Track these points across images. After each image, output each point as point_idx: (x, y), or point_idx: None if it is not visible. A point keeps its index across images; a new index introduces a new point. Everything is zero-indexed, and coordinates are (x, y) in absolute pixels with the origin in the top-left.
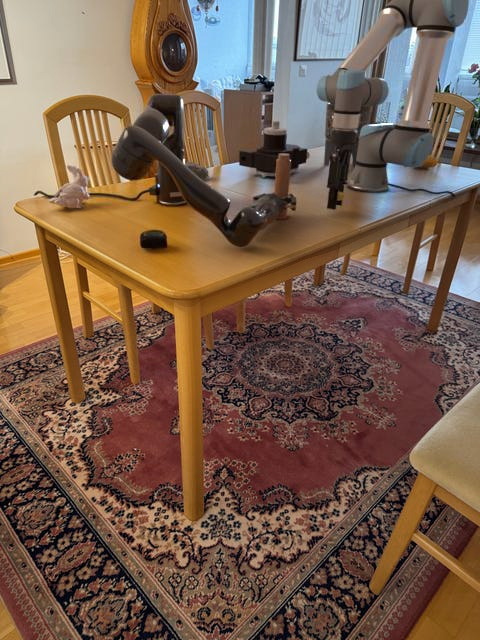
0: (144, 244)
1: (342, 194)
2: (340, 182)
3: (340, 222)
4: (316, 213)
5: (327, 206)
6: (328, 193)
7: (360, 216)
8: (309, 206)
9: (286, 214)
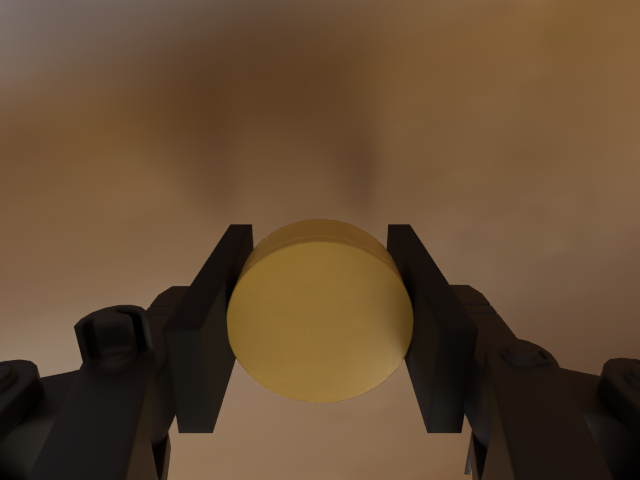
0: None
1: (349, 245)
2: (163, 408)
3: (516, 112)
4: None
5: None
6: (359, 388)
7: (255, 9)
8: (251, 420)
9: None
